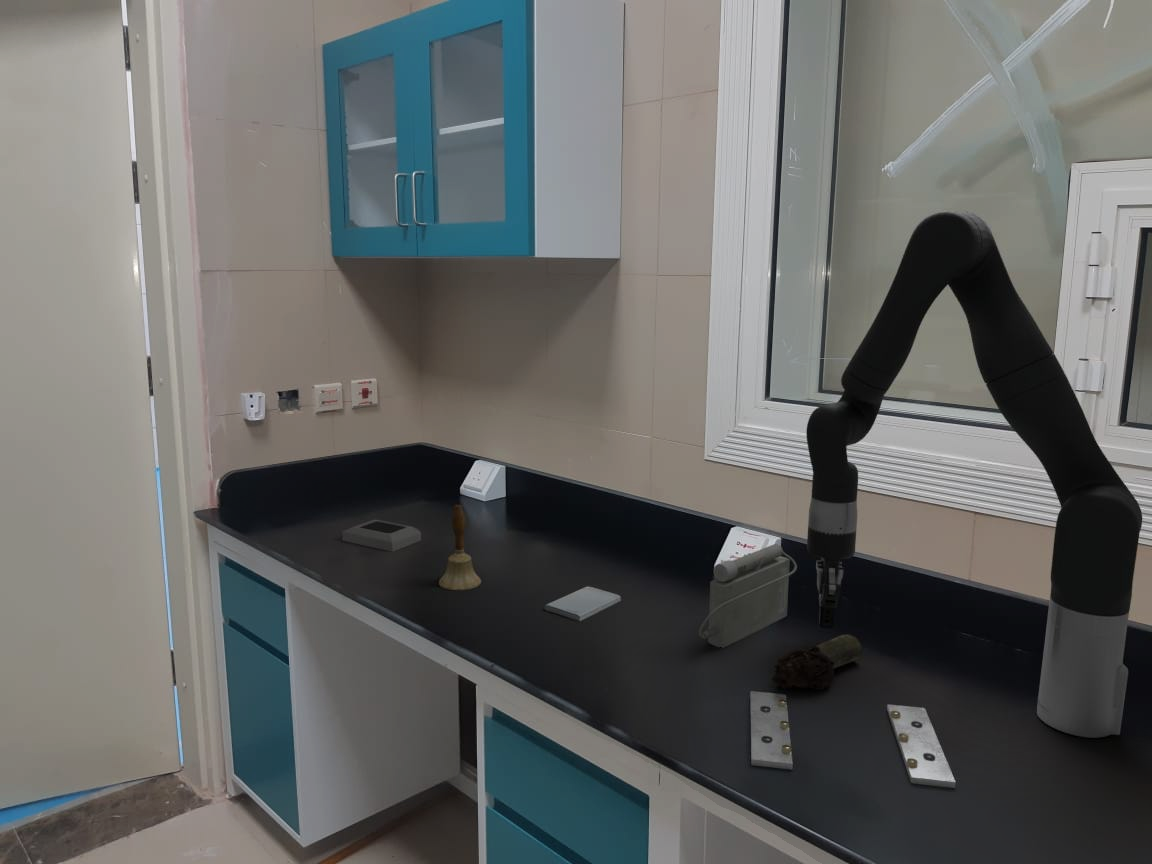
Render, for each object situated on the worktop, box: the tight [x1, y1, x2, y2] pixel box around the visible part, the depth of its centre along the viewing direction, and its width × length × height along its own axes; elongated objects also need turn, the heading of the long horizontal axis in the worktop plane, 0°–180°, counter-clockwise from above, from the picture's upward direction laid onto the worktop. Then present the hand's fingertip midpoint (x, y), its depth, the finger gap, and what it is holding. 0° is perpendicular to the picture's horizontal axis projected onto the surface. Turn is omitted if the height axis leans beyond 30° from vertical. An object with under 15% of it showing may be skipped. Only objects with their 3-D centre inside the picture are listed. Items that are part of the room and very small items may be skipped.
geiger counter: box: [698, 543, 798, 649], centre depth 144 cm, size 14×6×25 cm
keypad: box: [341, 519, 422, 553], centre depth 194 cm, size 10×4×15 cm
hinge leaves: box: [749, 690, 956, 789], centre depth 113 cm, size 24×18×1 cm
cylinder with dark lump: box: [771, 634, 863, 691], centre depth 130 cm, size 18×7×6 cm, turn 129°
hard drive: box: [544, 586, 622, 622], centre depth 158 cm, size 2×8×12 cm
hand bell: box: [438, 504, 482, 591], centre depth 167 cm, size 8×8×16 cm
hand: (825, 625), depth 141 cm, fingers closed
